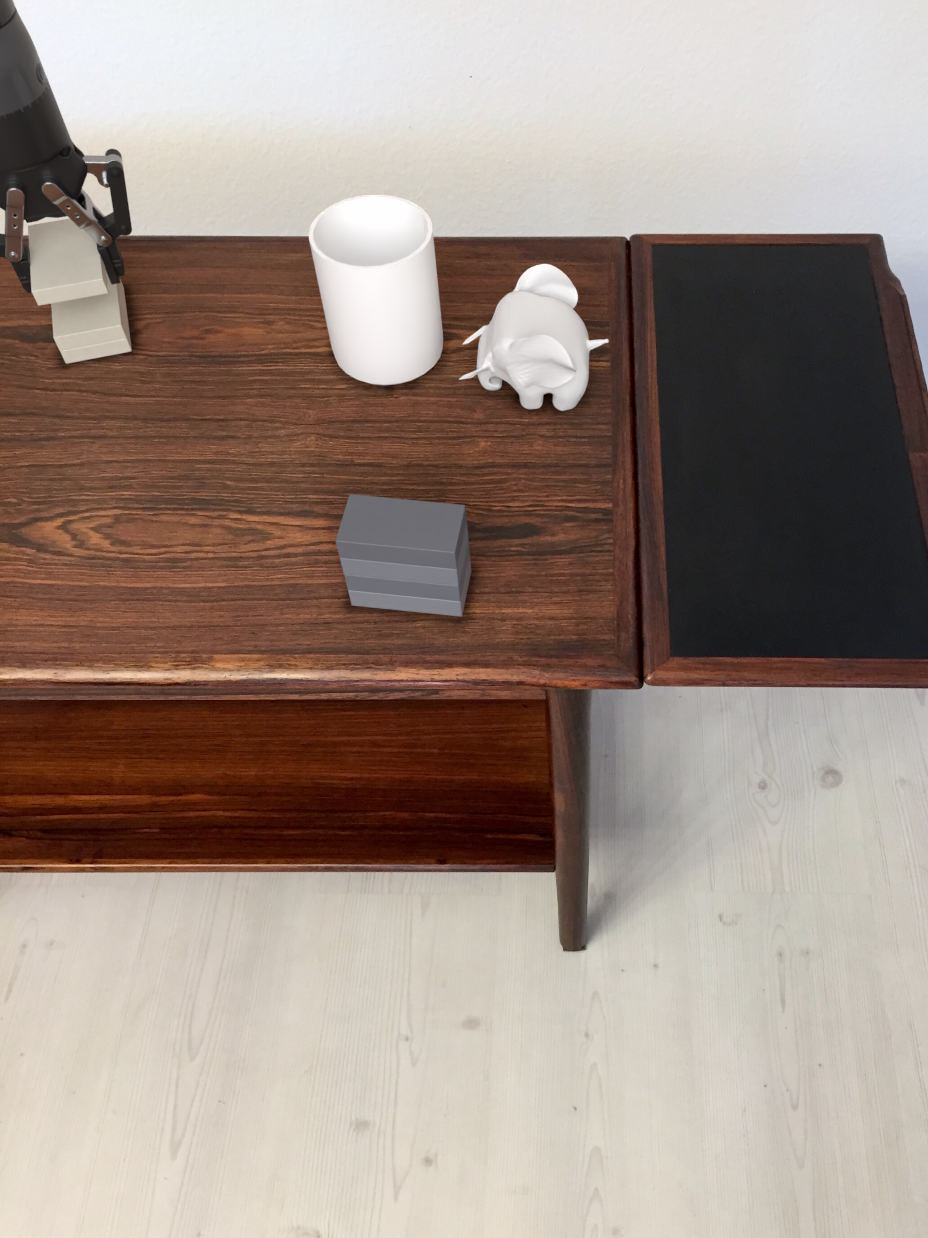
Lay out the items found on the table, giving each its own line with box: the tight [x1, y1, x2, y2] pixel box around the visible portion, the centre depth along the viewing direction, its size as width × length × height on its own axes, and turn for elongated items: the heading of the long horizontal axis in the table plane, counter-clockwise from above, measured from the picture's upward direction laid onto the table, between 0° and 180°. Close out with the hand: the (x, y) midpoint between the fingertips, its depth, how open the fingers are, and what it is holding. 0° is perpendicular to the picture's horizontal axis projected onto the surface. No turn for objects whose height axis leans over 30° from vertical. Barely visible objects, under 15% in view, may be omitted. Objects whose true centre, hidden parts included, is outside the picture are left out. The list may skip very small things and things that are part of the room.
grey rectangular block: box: [334, 493, 472, 617], centre depth 73 cm, size 8×4×7 cm, turn 83°
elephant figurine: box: [458, 263, 610, 412], centre depth 85 cm, size 10×12×9 cm
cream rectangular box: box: [50, 272, 133, 365], centre depth 91 cm, size 9×6×3 cm, turn 17°
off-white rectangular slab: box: [27, 218, 108, 306], centre depth 87 cm, size 9×6×1 cm, turn 17°
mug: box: [308, 193, 444, 386], centre depth 86 cm, size 10×12×12 cm
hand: (78, 284), depth 89 cm, fingers closed on off-white rectangular slab, 5 cm apart
